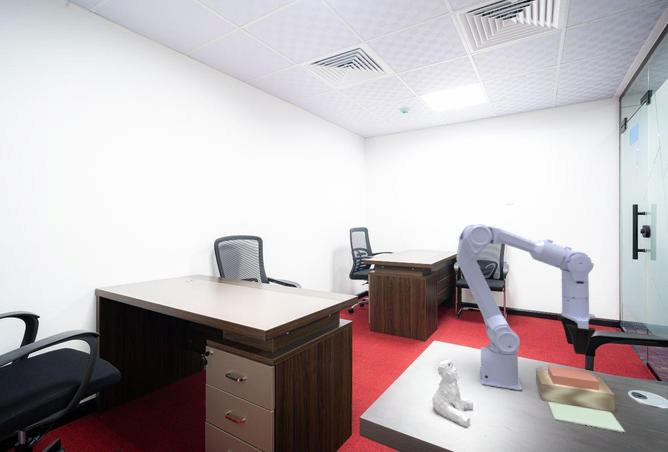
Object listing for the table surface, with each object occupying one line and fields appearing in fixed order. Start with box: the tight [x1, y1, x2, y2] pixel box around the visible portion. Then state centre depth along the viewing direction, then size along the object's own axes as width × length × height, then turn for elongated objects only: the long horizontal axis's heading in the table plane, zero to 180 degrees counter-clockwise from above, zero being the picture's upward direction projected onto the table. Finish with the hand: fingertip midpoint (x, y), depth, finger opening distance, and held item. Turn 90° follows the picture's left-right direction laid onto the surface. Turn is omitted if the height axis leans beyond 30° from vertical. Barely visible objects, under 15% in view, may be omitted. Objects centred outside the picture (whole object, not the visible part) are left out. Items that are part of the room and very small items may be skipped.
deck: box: [535, 368, 616, 413], centre depth 80 cm, size 14×9×4 cm, turn 66°
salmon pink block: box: [547, 365, 599, 390], centre depth 80 cm, size 9×6×2 cm, turn 66°
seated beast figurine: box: [431, 359, 474, 428], centre depth 74 cm, size 10×9×12 cm
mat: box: [547, 401, 626, 434], centre depth 72 cm, size 12×8×1 cm, turn 66°
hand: (576, 348), depth 85 cm, fingers open, 7 cm apart
